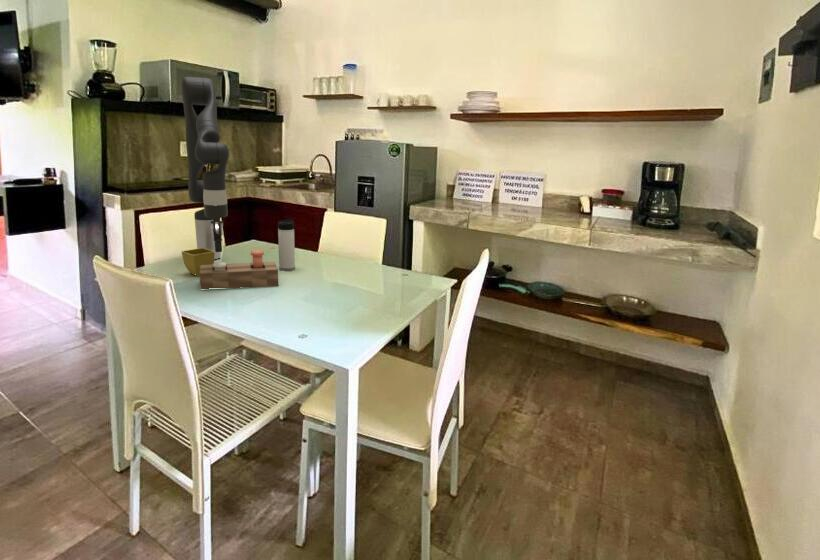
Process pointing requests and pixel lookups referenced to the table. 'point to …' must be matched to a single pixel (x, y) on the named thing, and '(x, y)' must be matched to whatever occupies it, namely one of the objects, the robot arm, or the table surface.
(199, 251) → the flower pot
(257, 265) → the red plug
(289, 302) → the table surface
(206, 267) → the block
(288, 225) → the travel mug
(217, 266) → the grey plug
